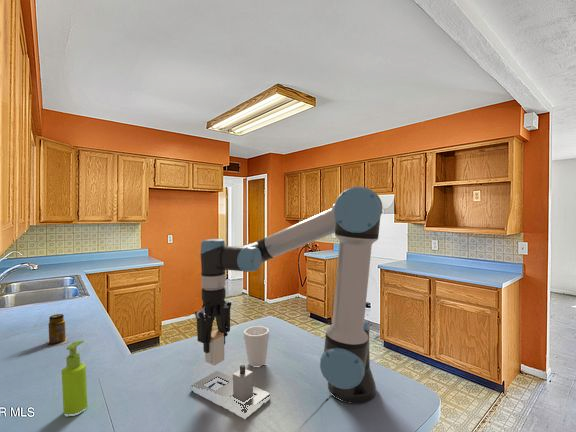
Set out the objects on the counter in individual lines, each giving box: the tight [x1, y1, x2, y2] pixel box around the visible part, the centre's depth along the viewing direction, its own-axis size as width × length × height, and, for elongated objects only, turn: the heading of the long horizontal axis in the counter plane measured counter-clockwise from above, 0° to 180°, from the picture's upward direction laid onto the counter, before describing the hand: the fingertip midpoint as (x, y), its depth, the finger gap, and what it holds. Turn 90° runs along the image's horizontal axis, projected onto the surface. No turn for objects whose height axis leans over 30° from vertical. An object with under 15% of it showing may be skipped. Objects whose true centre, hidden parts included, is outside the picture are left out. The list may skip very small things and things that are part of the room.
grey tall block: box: [232, 364, 254, 402], centre depth 95 cm, size 4×4×11 cm
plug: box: [205, 329, 225, 366], centre depth 102 cm, size 4×4×9 cm
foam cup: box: [243, 325, 270, 367], centre depth 118 cm, size 10×9×13 cm
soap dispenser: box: [61, 340, 88, 415], centre depth 94 cm, size 6×7×20 cm
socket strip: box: [190, 370, 271, 413], centre depth 99 cm, size 24×11×2 cm, turn 54°
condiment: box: [46, 313, 69, 348], centre depth 142 cm, size 7×8×12 cm
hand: (215, 358), depth 102 cm, fingers closed on plug, 4 cm apart
